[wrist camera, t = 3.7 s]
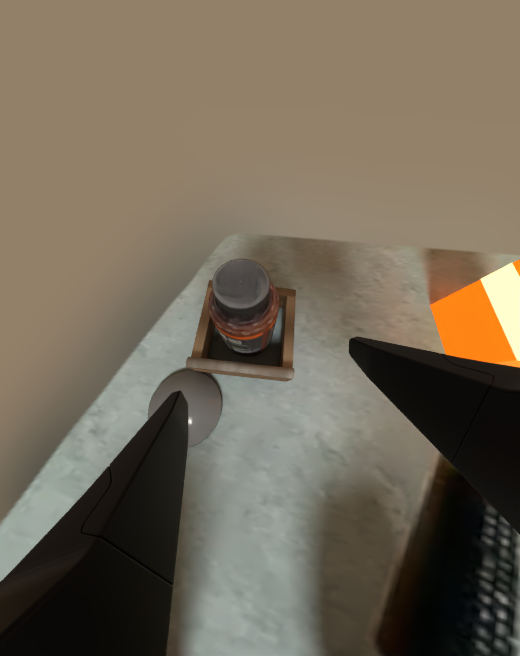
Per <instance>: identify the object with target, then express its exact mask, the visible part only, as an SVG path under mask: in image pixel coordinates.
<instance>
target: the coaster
mask: <svg viewBox="0 0 520 656" xmlns="http://www.w3.org/2000/svg"><path fill="white" fill-rule="evenodd" d="M179 390H180V391H182V393H183V395H184V397H185V399H186V400H187V403H188V429H189V435H188V448H189V447H192V446H194V445H197V444H198V443H200V442H202V441H203V440H204V439H205V438H207V437H208V436H209V435H210V434H211V432H212V431H213V430H214V428H215V427H216V425H217V423H218V421H219V418H220V415H221V410H222V399H221V394H220V391H219V388H218V387H217V385H216V383H215V382H214V381H213V380H212V379H211V378H210V377H208V376H207V375H205V374H203V373H201V372H198V371H182V372H179V373H176V374H174V375H172V376H170V377H168V378H167V379H166V380H164V381H163V382H162V383H161V384H160V385H159V387H158V388H157V389H156V391H155V392H154V394H153V396H152V398H151V401H150V404H149V409H148V420H149V418H150V417H151V416H152V415H153V414H154V413H155V411H156V410H157V409H158V408H159V407H160V406H161V404H162V403H163V402H164V401H165V400H166V399H167V397H168V396H169V395H170V394H171V393H172V392H175V391H179Z"/></svg>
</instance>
